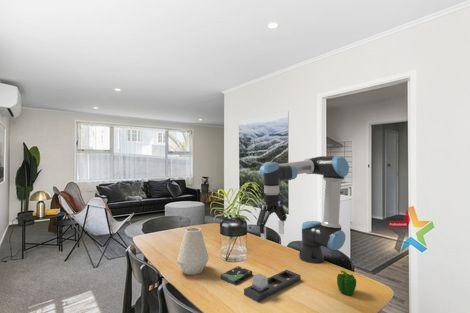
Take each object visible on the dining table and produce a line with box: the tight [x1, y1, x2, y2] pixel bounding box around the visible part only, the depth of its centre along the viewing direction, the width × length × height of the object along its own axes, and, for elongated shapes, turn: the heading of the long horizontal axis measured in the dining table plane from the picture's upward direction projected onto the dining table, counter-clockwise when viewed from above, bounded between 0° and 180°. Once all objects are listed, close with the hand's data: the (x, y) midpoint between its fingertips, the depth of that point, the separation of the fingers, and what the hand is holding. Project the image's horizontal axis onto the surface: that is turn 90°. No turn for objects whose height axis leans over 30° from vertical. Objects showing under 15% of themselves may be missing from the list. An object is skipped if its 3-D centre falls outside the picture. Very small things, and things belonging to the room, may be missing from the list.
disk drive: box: [220, 265, 253, 286], centre depth 138 cm, size 10×3×15 cm
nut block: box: [251, 273, 269, 293], centre depth 121 cm, size 5×5×8 cm
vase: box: [176, 227, 209, 276], centre depth 146 cm, size 18×17×23 cm
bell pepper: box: [336, 270, 357, 296], centre depth 123 cm, size 8×8×10 cm
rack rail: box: [243, 269, 301, 303], centre depth 128 cm, size 32×9×2 cm, turn 131°
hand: (272, 236), depth 129 cm, fingers open, 13 cm apart
